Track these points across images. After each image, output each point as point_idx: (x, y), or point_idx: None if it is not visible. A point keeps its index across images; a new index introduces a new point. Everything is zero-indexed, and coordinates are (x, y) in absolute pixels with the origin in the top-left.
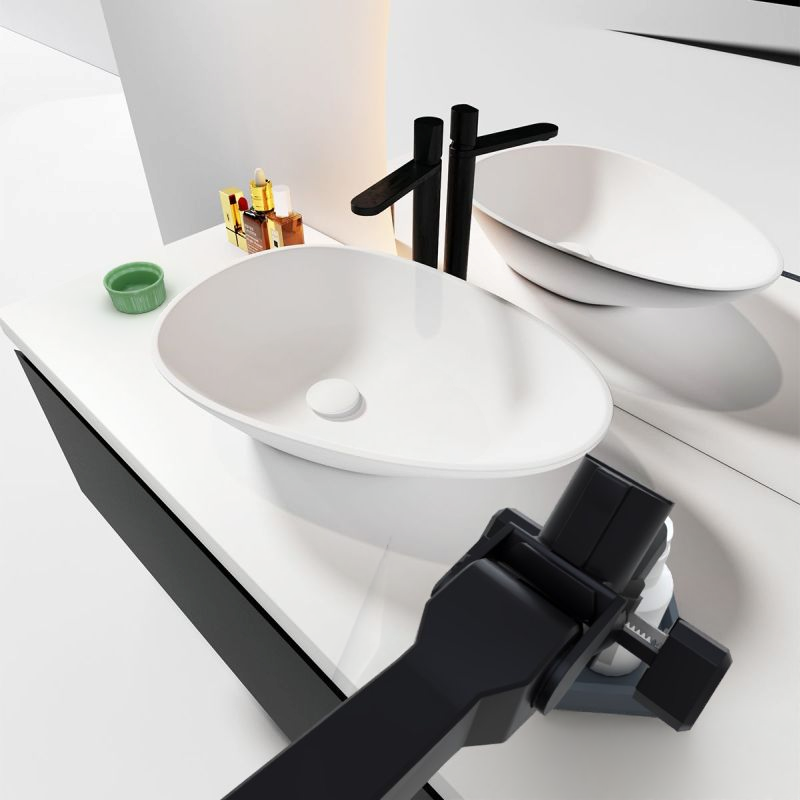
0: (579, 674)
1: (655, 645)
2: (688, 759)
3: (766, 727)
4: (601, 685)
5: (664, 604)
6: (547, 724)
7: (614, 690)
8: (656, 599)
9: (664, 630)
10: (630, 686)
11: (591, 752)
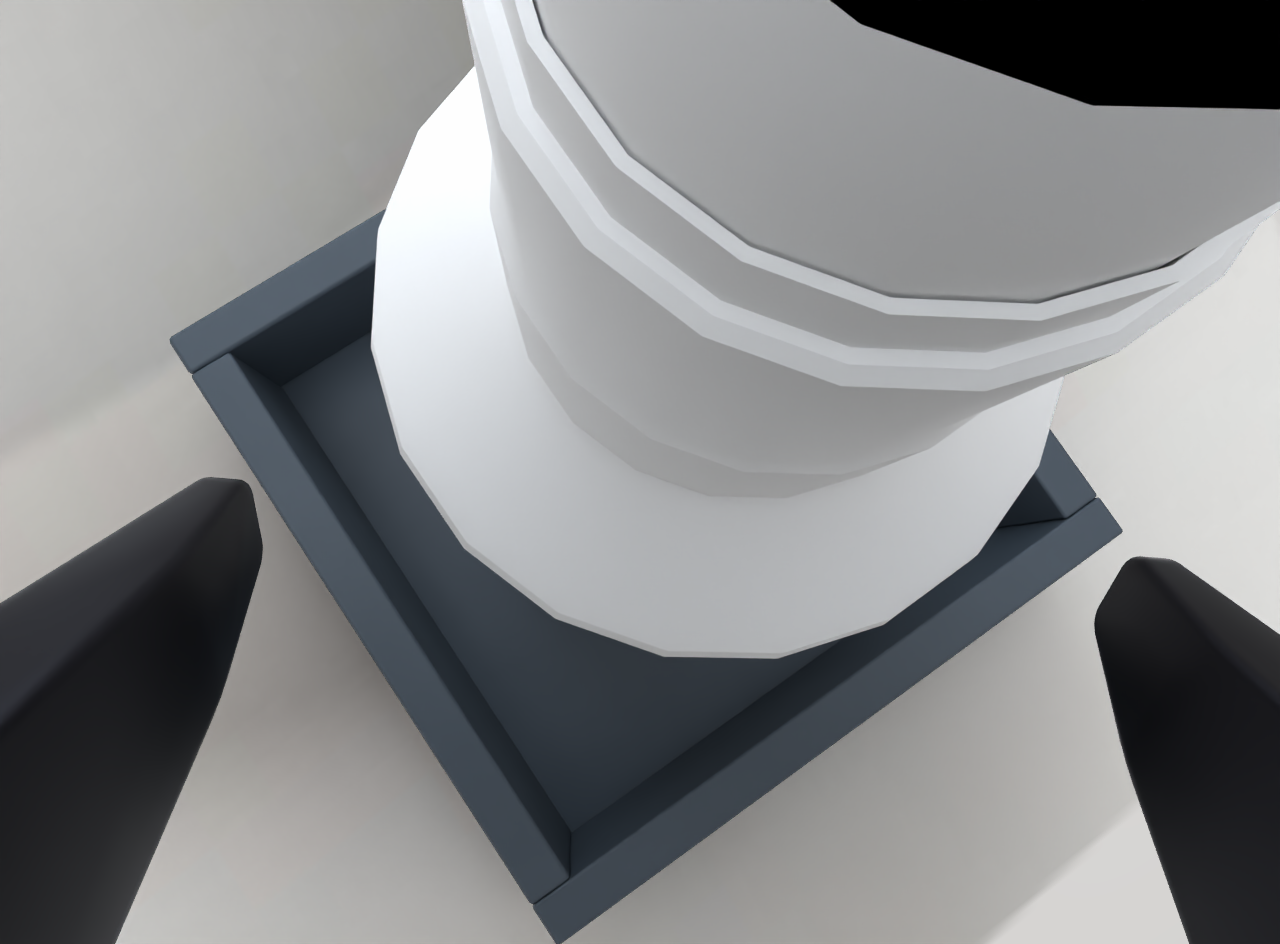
0: (619, 664)
1: (1173, 795)
2: (1090, 681)
3: (1247, 388)
4: (754, 755)
5: (1057, 389)
6: (611, 920)
7: (814, 740)
8: (1016, 412)
9: (1236, 690)
10: (862, 670)
11: (803, 902)
